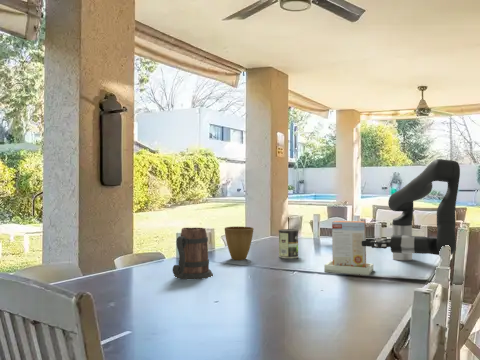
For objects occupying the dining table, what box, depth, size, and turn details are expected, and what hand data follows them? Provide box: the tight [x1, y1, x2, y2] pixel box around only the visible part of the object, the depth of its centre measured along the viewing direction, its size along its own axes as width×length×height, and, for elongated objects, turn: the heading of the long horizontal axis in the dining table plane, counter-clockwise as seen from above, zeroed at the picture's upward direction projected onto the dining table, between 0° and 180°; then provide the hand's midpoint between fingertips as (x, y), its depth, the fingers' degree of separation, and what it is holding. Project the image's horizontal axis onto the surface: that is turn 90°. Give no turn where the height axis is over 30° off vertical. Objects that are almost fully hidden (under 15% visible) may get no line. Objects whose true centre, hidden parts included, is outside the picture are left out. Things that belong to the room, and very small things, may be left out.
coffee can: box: [278, 228, 299, 259], centre depth 242 cm, size 10×10×14 cm
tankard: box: [172, 227, 214, 280], centre depth 193 cm, size 24×17×20 cm
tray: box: [323, 260, 374, 276], centre depth 202 cm, size 11×19×3 cm, turn 65°
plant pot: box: [224, 226, 254, 261], centre depth 236 cm, size 15×15×16 cm
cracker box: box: [331, 220, 367, 267], centre depth 202 cm, size 14×6×21 cm, turn 70°
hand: (363, 242), depth 200 cm, fingers open, 8 cm apart
